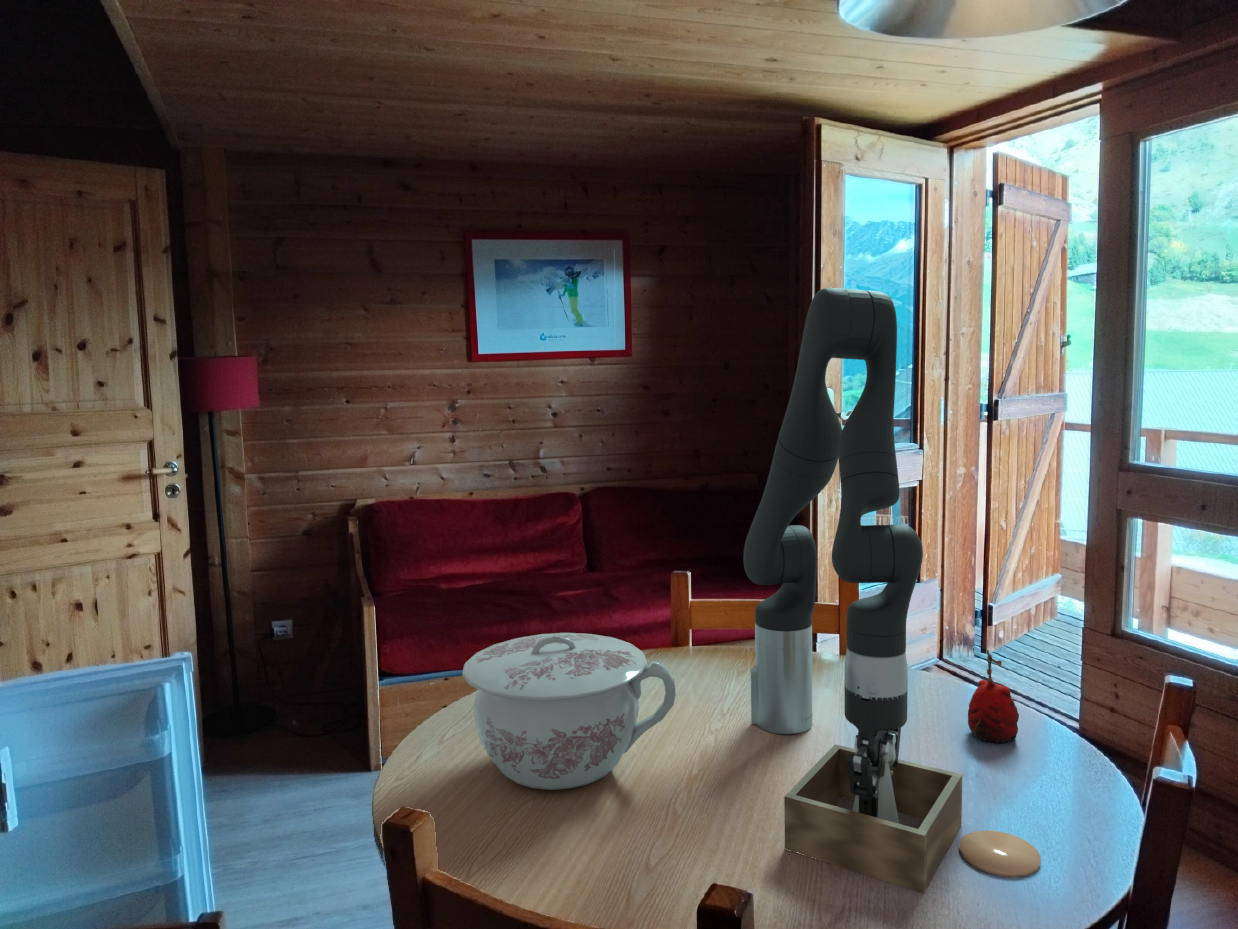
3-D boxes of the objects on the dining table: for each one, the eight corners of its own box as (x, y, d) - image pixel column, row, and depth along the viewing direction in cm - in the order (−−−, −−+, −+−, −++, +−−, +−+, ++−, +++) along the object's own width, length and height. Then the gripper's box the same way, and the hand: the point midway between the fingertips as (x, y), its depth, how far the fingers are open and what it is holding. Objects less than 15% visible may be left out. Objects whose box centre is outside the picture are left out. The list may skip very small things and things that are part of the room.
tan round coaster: (951, 862, 106) (951, 857, 106) (969, 828, 113) (969, 823, 113) (1032, 885, 101) (1032, 880, 101) (1046, 848, 108) (1046, 843, 108)
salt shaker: (900, 852, 108) (902, 751, 106) (852, 848, 109) (853, 748, 108) (895, 827, 114) (896, 731, 112) (850, 823, 115) (850, 728, 113)
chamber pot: (430, 774, 132) (422, 641, 130) (562, 716, 152) (558, 599, 150) (557, 839, 113) (551, 685, 111) (690, 763, 133) (687, 631, 131)
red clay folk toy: (1025, 737, 139) (1028, 645, 137) (1004, 751, 134) (1007, 656, 132) (979, 723, 144) (981, 634, 142) (957, 736, 140) (959, 645, 138)
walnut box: (784, 849, 109) (784, 796, 109) (834, 791, 123) (834, 744, 122) (923, 893, 100) (924, 835, 99) (961, 825, 114) (962, 774, 113)
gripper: (865, 661, 117) (864, 782, 119) (825, 697, 105) (825, 831, 107) (923, 671, 113) (921, 797, 115) (887, 709, 101) (886, 849, 103)
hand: (874, 812), depth 111 cm, fingers open, 4 cm apart
